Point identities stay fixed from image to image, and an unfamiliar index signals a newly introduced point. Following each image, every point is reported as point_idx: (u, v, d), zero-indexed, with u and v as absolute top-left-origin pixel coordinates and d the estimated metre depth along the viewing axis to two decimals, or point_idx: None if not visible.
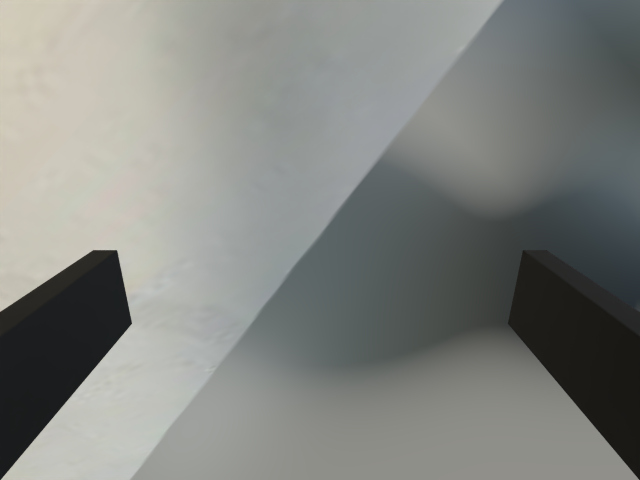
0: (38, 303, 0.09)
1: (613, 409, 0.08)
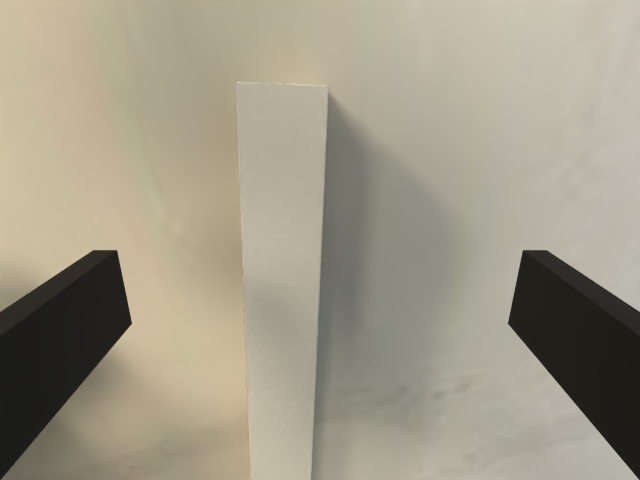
0: (38, 303, 0.09)
1: (613, 409, 0.08)
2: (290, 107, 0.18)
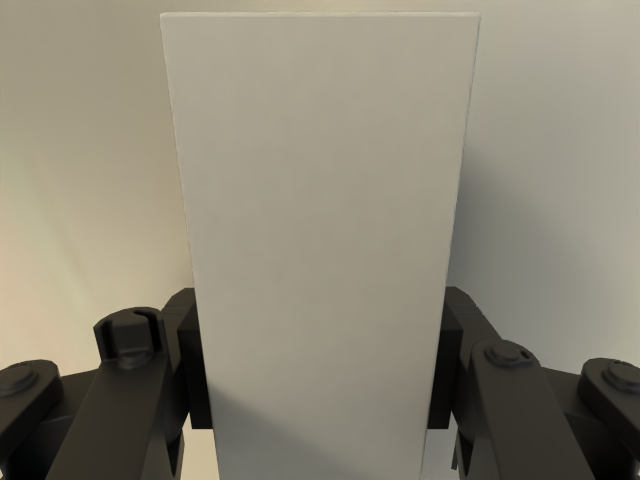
0: None
1: None
2: (348, 93, 0.05)
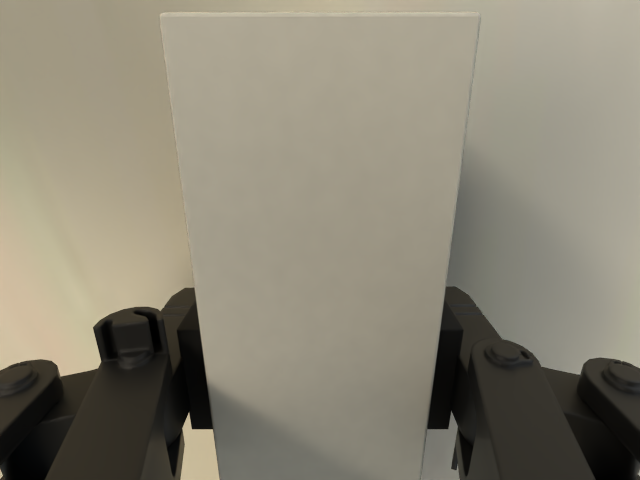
0: None
1: None
2: (348, 94, 0.05)
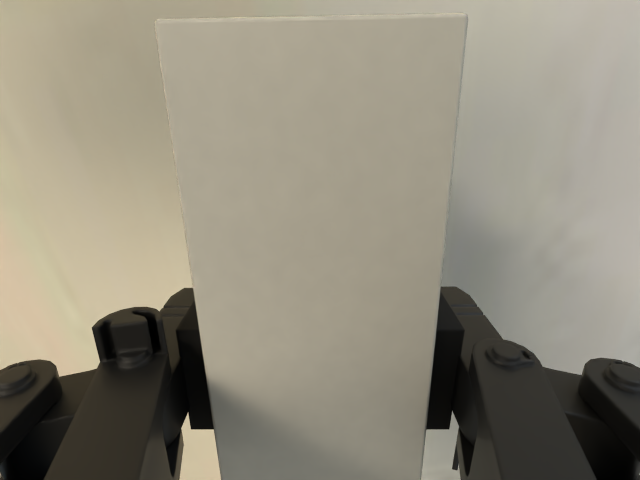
0: None
1: None
2: (340, 95, 0.06)
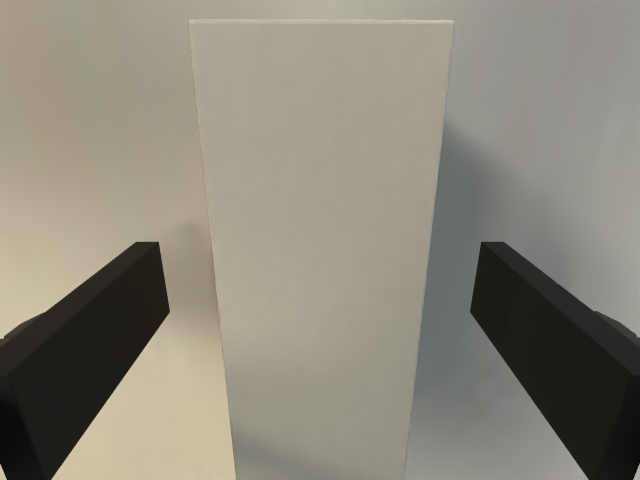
0: (99, 288, 0.09)
1: (547, 385, 0.09)
2: (345, 87, 0.07)
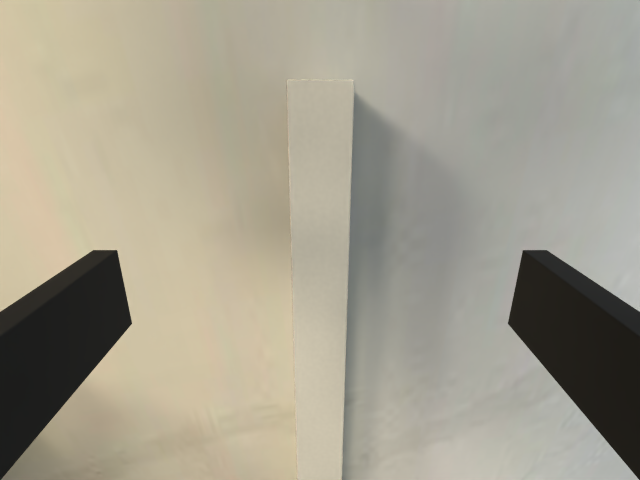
0: (38, 303, 0.09)
1: (613, 410, 0.08)
2: (326, 96, 0.25)
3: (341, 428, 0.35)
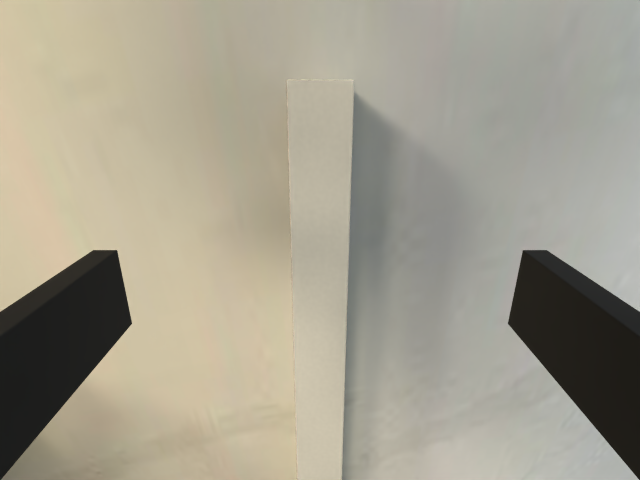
0: (38, 303, 0.09)
1: (613, 409, 0.08)
2: (326, 96, 0.25)
3: (341, 428, 0.35)
